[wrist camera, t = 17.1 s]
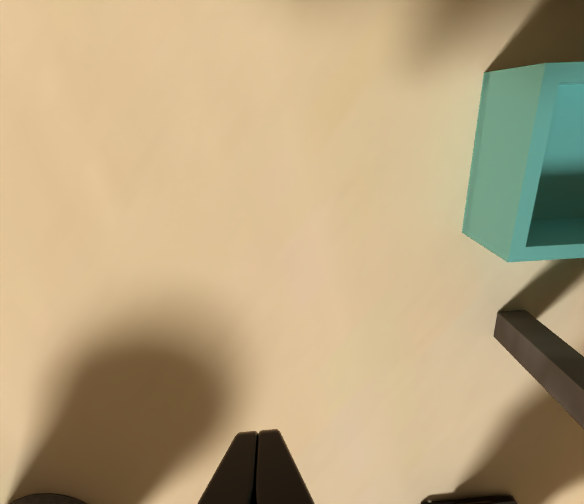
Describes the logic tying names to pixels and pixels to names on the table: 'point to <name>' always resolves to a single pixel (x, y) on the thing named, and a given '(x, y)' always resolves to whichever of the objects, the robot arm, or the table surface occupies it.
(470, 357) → the table surface
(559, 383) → the wooden step stool
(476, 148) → the tray
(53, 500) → the coffee cup
